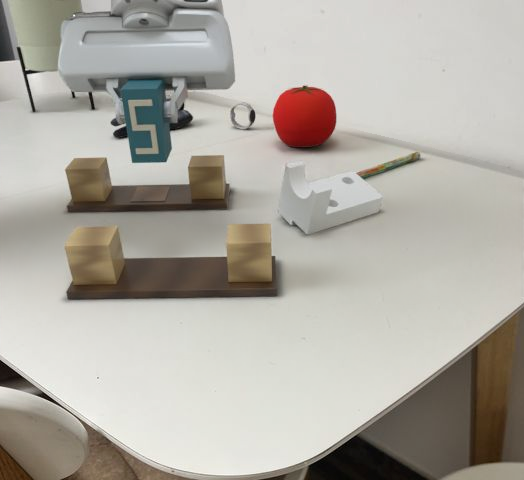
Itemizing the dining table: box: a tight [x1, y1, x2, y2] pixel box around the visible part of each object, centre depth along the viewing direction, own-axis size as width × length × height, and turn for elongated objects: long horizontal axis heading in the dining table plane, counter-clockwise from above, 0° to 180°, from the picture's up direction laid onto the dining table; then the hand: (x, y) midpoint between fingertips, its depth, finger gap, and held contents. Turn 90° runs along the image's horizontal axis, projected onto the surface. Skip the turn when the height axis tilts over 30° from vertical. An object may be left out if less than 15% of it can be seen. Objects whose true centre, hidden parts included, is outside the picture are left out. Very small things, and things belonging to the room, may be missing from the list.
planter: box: [6, 0, 96, 113], centre depth 130 cm, size 15×16×23 cm
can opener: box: [110, 97, 194, 139], centre depth 117 cm, size 18×7×6 cm, turn 127°
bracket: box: [277, 160, 384, 236], centre depth 80 cm, size 13×7×8 cm, turn 123°
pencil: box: [355, 151, 422, 179], centre depth 96 cm, size 1×1×18 cm
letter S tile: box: [120, 79, 173, 164], centre depth 66 cm, size 4×5×8 cm
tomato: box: [272, 84, 337, 148], centre depth 106 cm, size 12×12×10 cm
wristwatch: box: [229, 101, 256, 130], centre depth 117 cm, size 3×5×5 cm, turn 64°
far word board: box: [64, 154, 231, 213], centre depth 87 cm, size 24×8×6 cm, turn 90°
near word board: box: [63, 223, 277, 300], centre depth 67 cm, size 24×8×6 cm, turn 90°
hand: (147, 120), depth 65 cm, fingers closed on letter S tile, 4 cm apart
